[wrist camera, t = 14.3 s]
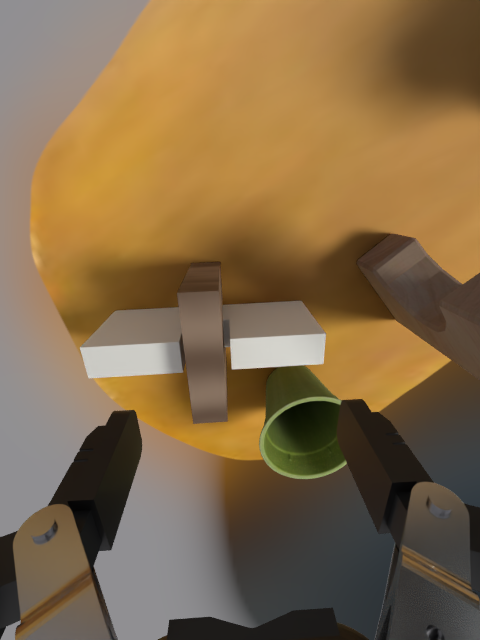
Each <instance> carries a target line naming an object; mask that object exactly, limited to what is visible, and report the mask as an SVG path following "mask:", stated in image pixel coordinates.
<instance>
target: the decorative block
mask: <svg viewBox="0 0 480 640" xmlns="http://www.w3.org/2000/svg"><path fill="white" fill-rule="evenodd" d="M357 265H358V267H359V268H360V270H361V271H362V272H363V274H364V275H365V277H366V278H367V280H368V281H369V282H370V284H371V285H372V287H373V288H374V289H375V291H376V292H377V294H378V295H379V297H380V298H381V299H382V301H383V302H384V304H385V305H386V306H387V308H388V309H389V311H390V312H391V314H392V315H393V316H394V318H395V319H396V321H398V322H399V323H401V324H402V325H403V326H405V327H406V328H408V329H409V330H410V331H412V332H413V333H414V334H416V335H417V336H419V337H420V338H421V339H423V340H424V341H426V342H427V343H428V344H430V345H431V346H433V347H434V348H435V349H437V350H438V351H440V352H441V353H442V354H444V355H445V356H447V357H448V358H449V359H451V360H452V361H454V362H455V363H456V364H458V365H459V366H461V367H462V368H463V369H465V370H466V371H468V372H469V373H470V374H472V375H473V376H474V377H476V378H477V379H479V380H480V273H479V274H477V275H476V276H474V277H473V278H472V279H470V280H469V281H467V282H466V283H464V284H461V283H460V282H459V281H457V280H456V279H455V278H453V277H452V276H451V275H450V274H448V273H447V272H446V271H444V270H443V269H442V268H441V267H440V266H439V265H438V264H437V263H436V262H435V261H434V260H433V259H432V258H431V257H430V256H429V255H428V254H427V253H426V252H425V250H424V249H423V247H422V246H421V245H420V243H419V242H418V241H417V239H416V238H412V237H407V236H402V235H398V234H390V235H389V236H387V237H386V238H385V239H384V240H382V241H381V242H380V243H378V244H377V245H376V246H375V247H373V248H372V249H371V250H370V251H368V252H367V253H366V254H365V255H363V256H362V257H361V258H359V259H358V260H357Z"/></svg>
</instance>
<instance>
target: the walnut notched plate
mask: <svg viewBox="0 0 480 640" xmlns="http://www.w3.org/2000/svg"><path fill="white" fill-rule="evenodd" d="M177 297H178V305H179V313H180V321H181V329H182V337H183V345H184V353H185V361H186V369H187V377H188V385H189V392H190V400H191V408H192V416H193V424H197V423H212V422H227V421H228V417H227V362H226V347H224V331H223V316H222V283H221V267H220V262H207V263H191V265H190V267H189V269H188V271H187V273H186V275H185V277H184V279H183V282H182V284H181V286H180V288H179V290H178V292H177Z"/></svg>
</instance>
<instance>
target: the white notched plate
mask: <svg viewBox="0 0 480 640" xmlns="http://www.w3.org/2000/svg"><path fill="white" fill-rule="evenodd" d="M222 316H223V331H224V347H231V363H232V370H233V369H249V368H266V367H282V366H298V365H315V364H323V362H324V350H325V338H326V333H325V332H324V330H323V329H322V328H321V326H320V325H319V324H318V322H317V321H316V320H315V318H314V317H313V316H312V314H311V313H310V312H309V310H308V309H307V308H306V306H305V305H304V304H303V302H302V301H286V302H267V303H249V304H230V305H222ZM80 350H81V353H82V357H83V361H84V364H85V368H86V371H87V374H88V378H102V377H118V376H134V375H151V374H167V373H183V370H184V366H185V353H184V345H183V337H182V329H181V321H180V313H179V307H174V308H156V309H137V310H118V311H114V312H113V313H112V314H111V315H110V317H109V318H108V319H107V320H106V321H105V322H104V323H103V324H102V325H101V326H100V327H99V328H98V329H97V330H96V331H95V332H94V333H93V334H92V335H91V336H90V338H89V339H88V340H87V341H86V342H85V343H84V344H83V345H82V346H81V347H80Z"/></svg>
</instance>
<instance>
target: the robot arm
mask: <svg viewBox="0 0 480 640" xmlns="http://www.w3.org/2000/svg"><path fill="white" fill-rule="evenodd" d="M337 439H338V443H339V446H340V449H341V451H342V453H343V455H344V458H345V460H346V462H347V464H348V467H349V469H350V471H351V473H352V476H353V478H354V480H355V482H356V485H357V487H358V489H359V491H360V493H361V496H362V498H363V500H364V503H365V505H366V507H367V509H368V511H369V514H370V516H371V518H372V520H373V523H374V525H375V527H376V529H377V532H378V533H379V534H384V533H391V535H392V537H393V539H394V541H395V546H394V549H393V555H392V560H391V565H390V570H389V576H388V581H387V586H386V591H385V596H384V602H383V607H382V611H381V616H380V620H379V624H378V628H377V632H376V637H375V640H480V604H479V598H478V596H477V594H476V593H475V592H474V591H472V590H475V591H478V592H480V508H479V507H475V506H470V505H467V504H464V503H463V502H462V501H461V500H460V498H459V497H457V496H456V495H455V494H454V493H453V492H451V491H450V490H449V489H447V488H445V487H443V486H441V485H439V484H436V483H434V482H433V481H432V479H431V478H430V476H429V475H428V474H427V472H426V471H425V470H424V468H423V467H422V465H421V464H420V463H419V461H418V460H417V458H416V457H415V455H414V454H413V453H412V451H411V450H410V448H409V447H408V446H407V445H406V444H405V441H404V440H403V439H402V437H401V436H400V435H398V432H397V430H396V429H395V428H394V426H393V425H392V423H391V422H390V421H389V420H388V419H386V418H385V417H384V416H383V415H381V414H380V413H379V412H371V410H370V409H369V407H368V406H367V404H366V403H365V401H364V400H362V399H353V400H342V401H341V404H340V411H339V418H338V425H337ZM141 452H142V438H141V434H140V429H139V425H138V420H137V415H136V412H135V411H134V410H125V411H114V412H113V413H112V414H111V416H110V418H109V420H108V422H107V424H106V426H98V427H97V428H96V429H95V430H94V431H92V432H91V433H90V434H89V435H88V436H87V437H86V439H85V441H84V442H83V444H82V446H81V448H80V451H79V452H78V453H77V455H76V457H75V459H74V462H73V463H72V464H71V466H70V467H69V469H68V471H67V473H66V475H65V476H64V478H63V480H62V482H61V483H60V485H59V487H58V489H57V491H56V492H55V494H54V496H53V498H52V500H51V501H50V503H49V505H48V506H47V507H45V508H43V509H41V510H39V511H38V512H36V513H34V514H33V515H32V516H31V517H29V518H28V519H27V520H26V521H25V522H24V523H23V524H22V526H21V527H20V528H19V530H18V531H16V532H14V533H11V534H8V535H5V536H3V537H0V639H1V637H2V635H3V633H4V630H5V628H6V626H8V625H11V624H13V623H15V622H17V621H20V620H21V624H20V625H18V626H17V628H16V632H15V640H118V639H117V636H116V633H115V630H114V627H113V624H112V621H111V618H110V615H109V612H108V609H107V606H106V603H105V599H104V596H103V594H102V590H101V588H100V584H99V581H98V578H97V575H96V572H95V569H94V563H95V560H96V557H97V554H98V552H99V551H106V550H111V549H112V546H113V542H114V539H115V536H116V533H117V530H118V527H119V523H120V520H121V517H122V514H123V511H124V507H125V505H126V501H127V498H128V495H129V491H130V489H131V486H132V482H133V479H134V476H135V473H136V470H137V467H138V464H139V460H140V457H141ZM471 589H472V590H471ZM158 640H369V639H368V638H367V637H365V636H364V635H363V634H361V633H359V632H358V631H356V630H354V629H352V628H350V627H348V626H346V625H343V624H340V623H337V622H336V618H335V615H334V610H333V608H323V609H310V610H296V611H291V612H289V613H287V614H285V615H283V616H280V617H278V618H276V619H274V620H272V621H269V622H267V623H265V624H263V625H261V626H258V627H256V628H248V627H244V626H241V625H237V624H233V623H230V622H226V621H223V620H219V619H216V618H212V617H202V618H188V619H174V620H169V627H168V635H167V636H164V637H162V638H160V639H158Z"/></svg>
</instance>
